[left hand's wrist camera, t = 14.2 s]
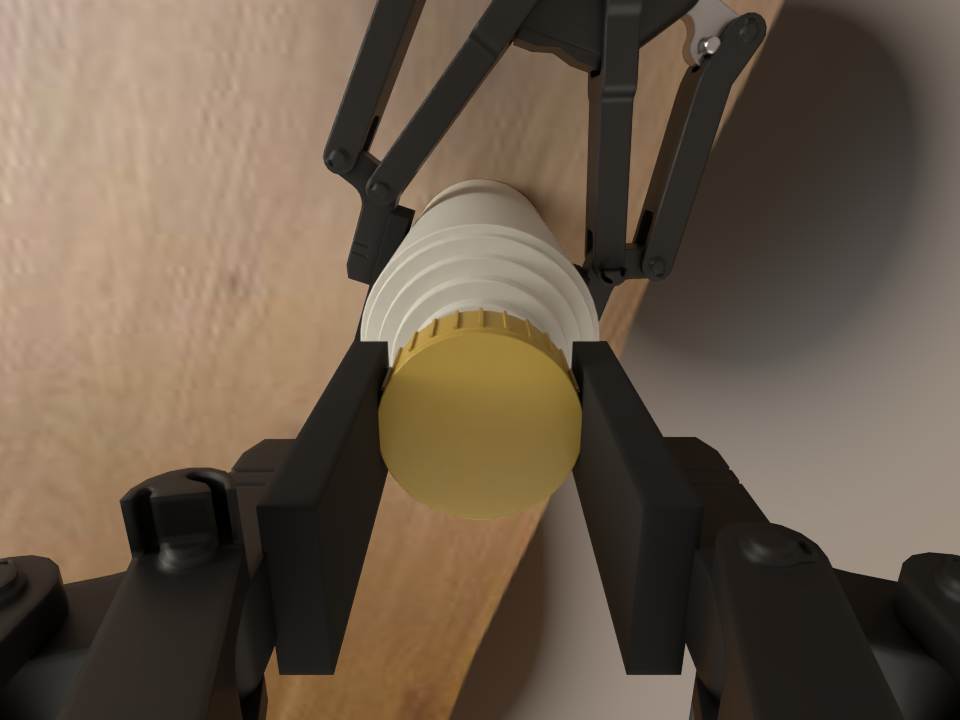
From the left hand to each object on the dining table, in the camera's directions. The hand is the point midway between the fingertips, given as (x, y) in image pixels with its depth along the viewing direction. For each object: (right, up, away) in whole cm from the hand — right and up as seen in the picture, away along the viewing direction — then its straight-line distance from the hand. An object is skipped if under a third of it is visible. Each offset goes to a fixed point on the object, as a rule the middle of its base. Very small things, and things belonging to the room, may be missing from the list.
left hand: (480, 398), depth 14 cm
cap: (0, 0, -1) cm, 1 cm away
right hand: (-2, 0, +14) cm, 14 cm away
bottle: (0, +7, +18) cm, 19 cm away
